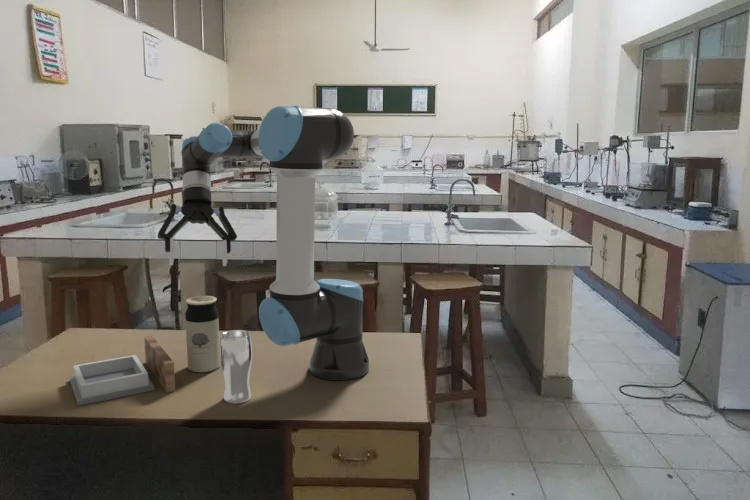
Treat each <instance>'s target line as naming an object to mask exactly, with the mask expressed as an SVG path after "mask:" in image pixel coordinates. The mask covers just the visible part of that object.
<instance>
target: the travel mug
mask: <svg viewBox="0 0 750 500" xmlns="http://www.w3.org/2000/svg"><path fill="white" fill-rule="evenodd" d="M217 299H218V298H217V297H215V296H212V295H195V296H192V297H191V296H190V297H189V298H187V299H185V303H186V306H187V308H186V310H185V312H184V315H185V316H184V317H185V335H186V337H185V339H186V352H187V353H186V355H187V356H186V357H187V359H186V360H187V369H188V370H189V371H191V372H193V373H210V372H212V371H215V370H217V369H218V368H219V367H220V366H221V360H220V327H219V326H220V325H219V324H220V323H219V309H218V308H217V307H216V302H217Z"/></svg>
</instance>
